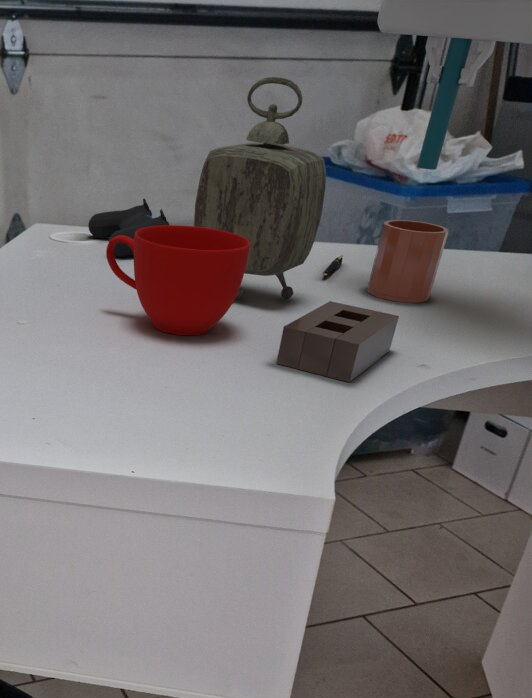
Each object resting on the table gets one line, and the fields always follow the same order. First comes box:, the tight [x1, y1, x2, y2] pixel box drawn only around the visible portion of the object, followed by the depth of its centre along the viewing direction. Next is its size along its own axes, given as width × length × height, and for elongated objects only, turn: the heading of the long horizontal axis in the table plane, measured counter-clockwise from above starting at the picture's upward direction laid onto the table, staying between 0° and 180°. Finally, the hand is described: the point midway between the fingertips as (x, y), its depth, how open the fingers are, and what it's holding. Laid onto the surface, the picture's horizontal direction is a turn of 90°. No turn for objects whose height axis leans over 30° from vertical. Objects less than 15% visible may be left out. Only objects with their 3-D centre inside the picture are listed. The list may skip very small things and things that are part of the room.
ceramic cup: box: [105, 224, 250, 336], centre depth 96 cm, size 13×17×10 cm
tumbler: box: [367, 219, 450, 304], centre depth 115 cm, size 8×8×9 cm
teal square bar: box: [416, 38, 473, 170], centre depth 102 cm, size 2×2×14 cm
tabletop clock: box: [193, 76, 327, 300], centre depth 105 cm, size 14×9×25 cm, turn 56°
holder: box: [276, 300, 400, 383], centre depth 91 cm, size 8×14×4 cm, turn 146°
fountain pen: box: [322, 254, 344, 278], centre depth 126 cm, size 14×1×2 cm, turn 155°
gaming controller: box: [87, 198, 170, 258], centre depth 131 cm, size 17×6×10 cm
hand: (449, 84), depth 101 cm, fingers closed on teal square bar, 2 cm apart
